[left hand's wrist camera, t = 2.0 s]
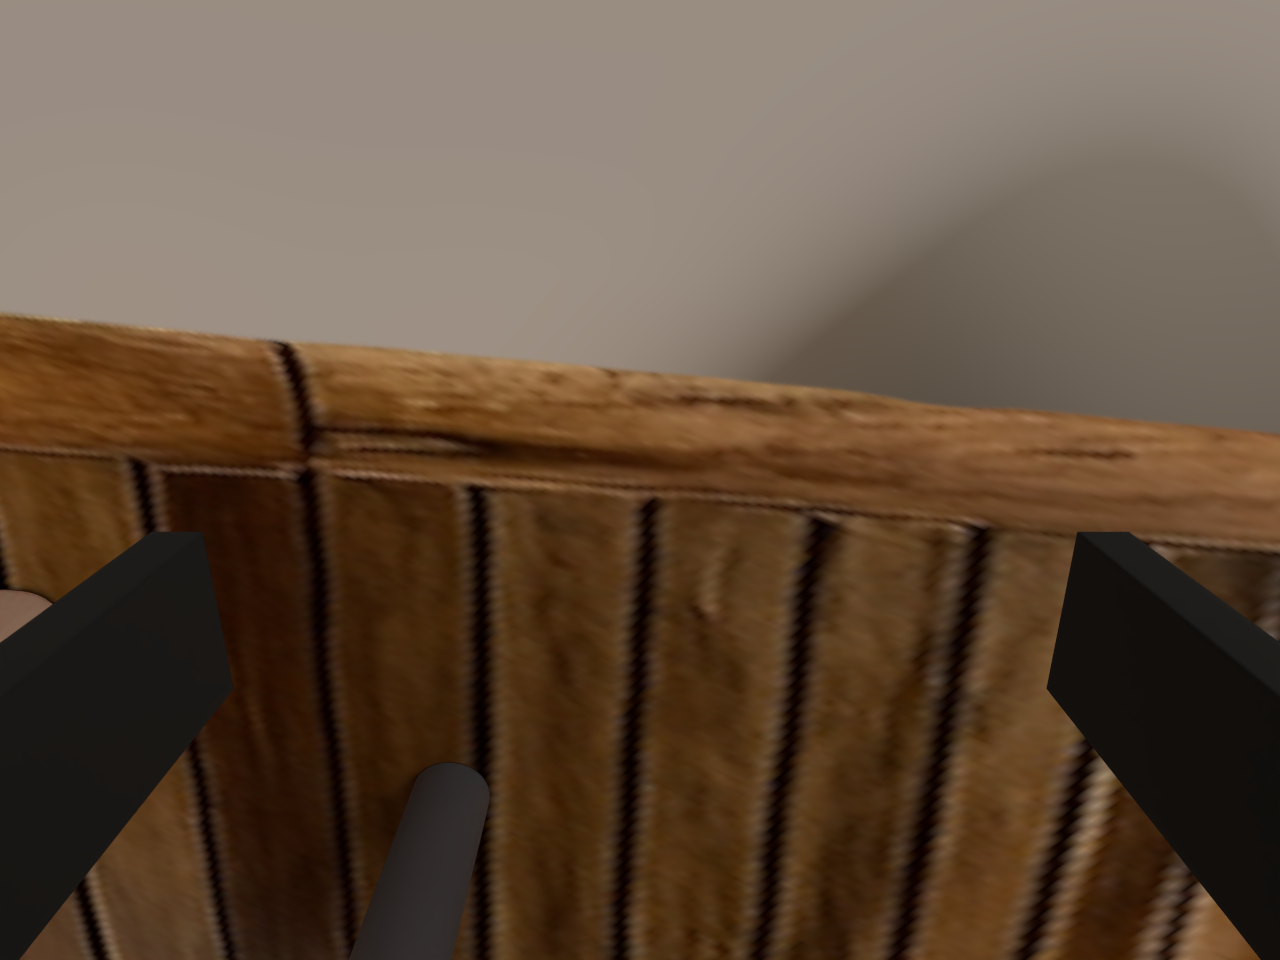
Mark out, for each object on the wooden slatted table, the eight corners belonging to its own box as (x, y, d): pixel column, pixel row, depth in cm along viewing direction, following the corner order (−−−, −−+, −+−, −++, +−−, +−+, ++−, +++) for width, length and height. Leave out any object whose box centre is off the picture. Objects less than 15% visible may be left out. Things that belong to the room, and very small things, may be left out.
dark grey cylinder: (455, 749, 47) (372, 1005, 33) (505, 799, 49) (448, 1067, 34) (397, 787, 48) (292, 1053, 34) (448, 835, 50) (368, 1112, 35)
